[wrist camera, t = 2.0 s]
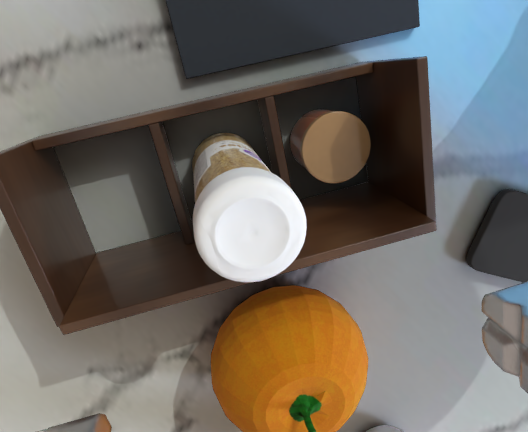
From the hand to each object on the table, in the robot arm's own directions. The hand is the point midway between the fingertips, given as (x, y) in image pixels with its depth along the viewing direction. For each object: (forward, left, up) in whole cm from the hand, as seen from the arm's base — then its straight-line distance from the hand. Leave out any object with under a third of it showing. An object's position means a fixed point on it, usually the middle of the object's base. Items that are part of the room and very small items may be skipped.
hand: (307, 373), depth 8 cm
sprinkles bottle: (0, 0, -21) cm, 21 cm away
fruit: (-1, +15, -21) cm, 26 cm away
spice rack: (0, 0, -21) cm, 21 cm away
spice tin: (-7, 0, -21) cm, 22 cm away
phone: (-26, +14, -21) cm, 36 cm away
